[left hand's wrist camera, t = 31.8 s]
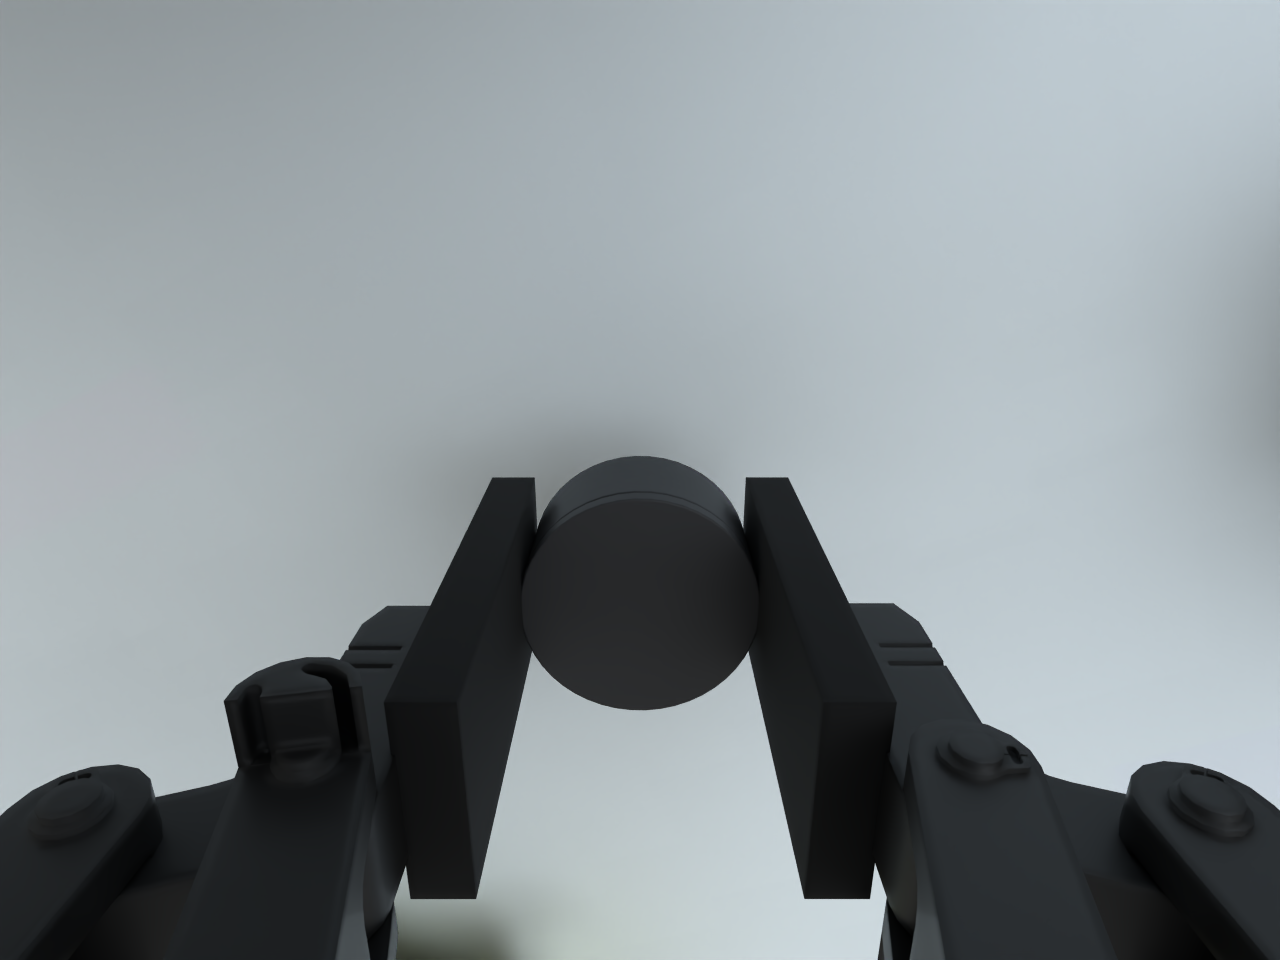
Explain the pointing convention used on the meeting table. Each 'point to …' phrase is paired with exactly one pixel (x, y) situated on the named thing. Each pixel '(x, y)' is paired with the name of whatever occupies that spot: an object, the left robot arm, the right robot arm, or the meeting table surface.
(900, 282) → the meeting table surface
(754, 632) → the cap
